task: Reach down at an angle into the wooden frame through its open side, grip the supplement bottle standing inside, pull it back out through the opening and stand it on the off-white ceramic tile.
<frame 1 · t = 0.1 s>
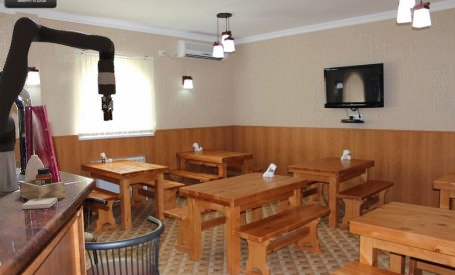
hand: (108, 120, 167), 29 cm above the worktop, tool pointing down, fingers open, 8 cm apart
supplement bottle: (45, 196, 151), on the worktop
wooden frame: (42, 196, 151), on the worktop
sauce bottle: (36, 191, 162), on the worktop
tile: (40, 205, 137), on the worktop
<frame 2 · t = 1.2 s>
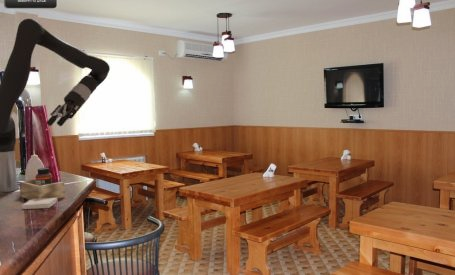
hand: (53, 124, 154), 28 cm above the worktop, tool tilted 45°, fingers open, 8 cm apart
nothing on the worktop moved.
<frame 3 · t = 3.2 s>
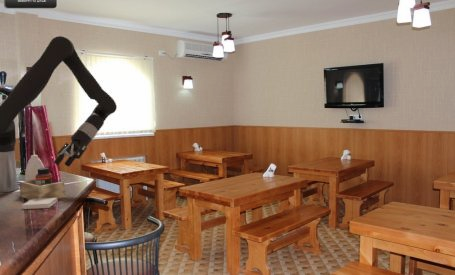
hand: (60, 164, 156), 12 cm above the worktop, tool tilted 45°, fingers open, 8 cm apart
nothing on the worktop moved.
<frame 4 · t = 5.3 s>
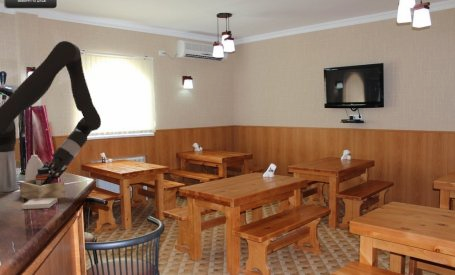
hand: (40, 185, 150), 5 cm above the worktop, tool tilted 45°, fingers closed on supplement bottle, 6 cm apart
supplement bottle: (45, 196, 151), on the worktop, touching gripper
everything else where it was.
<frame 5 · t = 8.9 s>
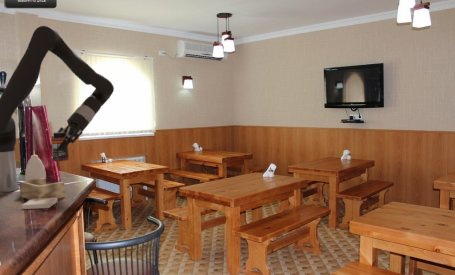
hand: (55, 149, 150), 19 cm above the worktop, tool tilted 45°, fingers closed on supplement bottle, 6 cm apart
supplement bottle: (60, 160, 152), point 14 cm above the worktop, touching gripper
everything else where it was.
when the fingers open (8 cm above the worktop, at t = 12.5 s): supplement bottle drops 1 cm, resting on tile.
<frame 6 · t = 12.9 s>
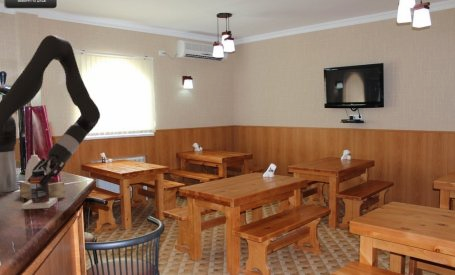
hand: (35, 183, 136), 8 cm above the worktop, tool tilted 45°, fingers open, 8 cm apart
supplement bottle: (40, 201, 138), point 1 cm above the worktop, touching tile
everything else where it was.
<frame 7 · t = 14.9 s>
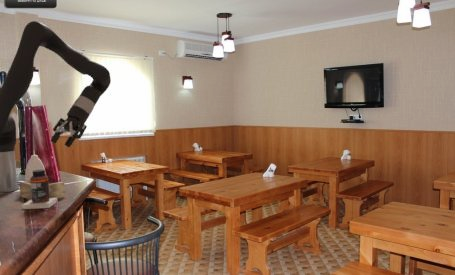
hand: (59, 144, 147), 21 cm above the worktop, tool tilted 35°, fingers open, 8 cm apart
nothing on the worktop moved.
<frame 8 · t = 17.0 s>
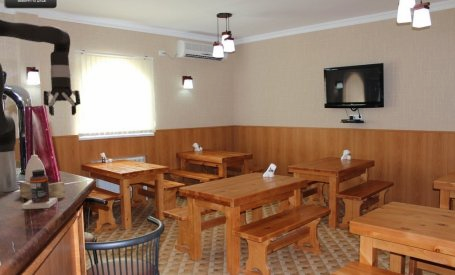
hand: (63, 115, 160), 32 cm above the worktop, tool pointing down, fingers open, 8 cm apart
nothing on the worktop moved.
at the end: supplement bottle inside the target area on the tile (0.3 cm from its centre), point 1.3 cm above the tile's base; supplement bottle tilted 0°; the gripper is holding nothing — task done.
